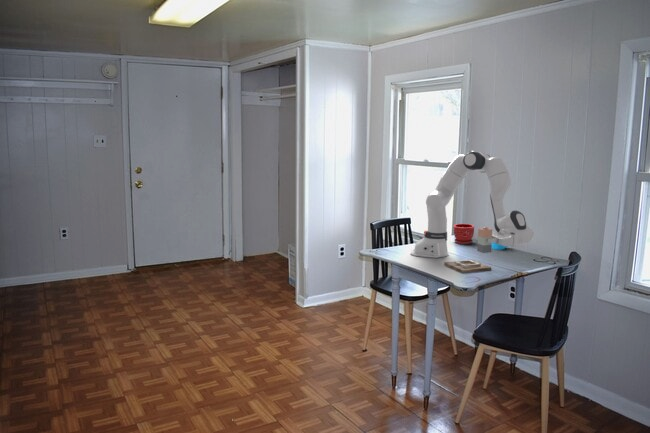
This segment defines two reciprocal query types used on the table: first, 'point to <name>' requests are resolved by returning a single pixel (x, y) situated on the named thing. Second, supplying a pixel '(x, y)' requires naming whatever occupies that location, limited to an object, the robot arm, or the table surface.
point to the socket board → (467, 266)
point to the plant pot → (463, 233)
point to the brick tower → (484, 240)
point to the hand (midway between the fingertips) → (483, 239)
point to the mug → (498, 246)
